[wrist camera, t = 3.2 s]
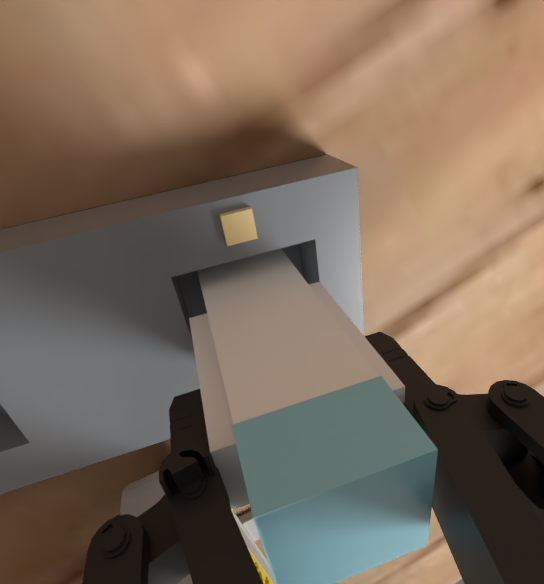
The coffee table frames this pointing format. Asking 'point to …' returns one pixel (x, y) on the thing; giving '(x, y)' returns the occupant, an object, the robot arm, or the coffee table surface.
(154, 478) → the network device
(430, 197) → the coffee table surface
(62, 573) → the coffee table surface
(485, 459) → the robot arm
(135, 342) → the jack panel
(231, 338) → the plug
